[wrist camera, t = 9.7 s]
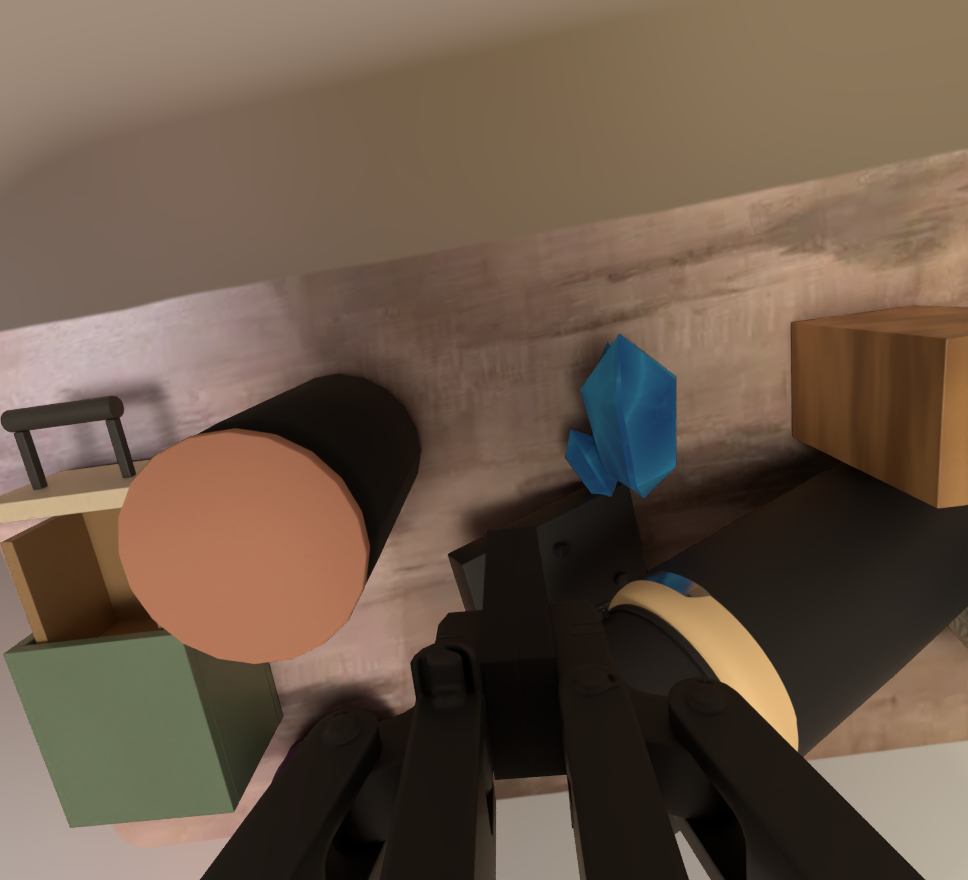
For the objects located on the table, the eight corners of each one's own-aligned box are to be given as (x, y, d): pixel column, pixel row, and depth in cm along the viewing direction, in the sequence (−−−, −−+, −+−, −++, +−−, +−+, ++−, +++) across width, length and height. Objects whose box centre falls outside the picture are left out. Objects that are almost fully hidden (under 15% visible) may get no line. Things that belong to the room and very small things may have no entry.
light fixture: (1008, 650, 34) (697, 953, 24) (752, 557, 50) (498, 719, 40) (1005, 446, 31) (638, 704, 21) (730, 414, 46) (445, 554, 36)
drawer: (37, 401, 41) (-61, 423, 34) (179, 381, 40) (110, 400, 33) (111, 624, 45) (38, 686, 38) (240, 609, 44) (191, 669, 37)
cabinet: (99, 583, 45) (2, 654, 36) (243, 566, 44) (180, 633, 36) (148, 730, 48) (69, 828, 40) (283, 716, 48) (234, 812, 39)
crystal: (568, 538, 37) (528, 364, 31) (581, 464, 44) (551, 312, 39) (692, 533, 34) (672, 344, 29) (685, 455, 42) (668, 292, 36)
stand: (792, 437, 41) (937, 509, 27) (790, 322, 39) (946, 338, 25) (909, 422, 40) (1117, 488, 27) (914, 305, 39) (1139, 312, 25)
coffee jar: (268, 372, 41) (94, 431, 23) (420, 371, 40) (359, 430, 23) (282, 515, 43) (136, 664, 26) (425, 515, 43) (374, 667, 26)
